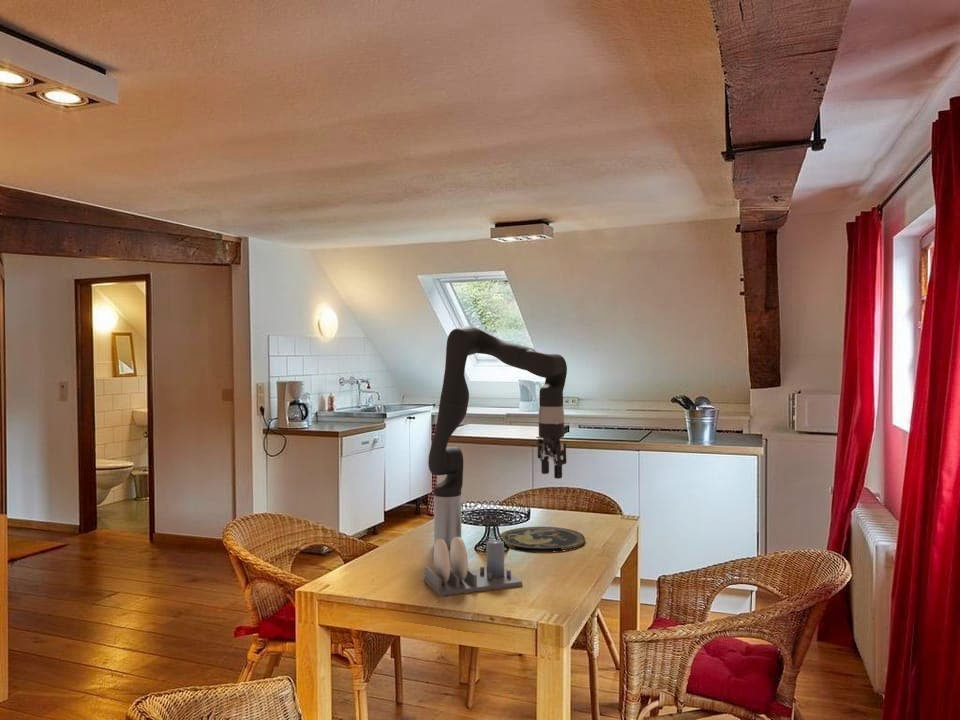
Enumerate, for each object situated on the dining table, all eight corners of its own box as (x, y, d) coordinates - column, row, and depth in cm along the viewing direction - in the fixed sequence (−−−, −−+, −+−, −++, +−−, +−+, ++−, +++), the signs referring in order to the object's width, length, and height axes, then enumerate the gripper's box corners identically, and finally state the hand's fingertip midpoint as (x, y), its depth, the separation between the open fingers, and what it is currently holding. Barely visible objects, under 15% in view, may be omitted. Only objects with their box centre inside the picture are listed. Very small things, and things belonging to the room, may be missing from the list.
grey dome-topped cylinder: (484, 574, 206) (483, 541, 206) (500, 572, 208) (500, 539, 207) (490, 579, 201) (490, 545, 201) (507, 577, 203) (506, 543, 203)
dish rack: (423, 580, 204) (423, 534, 204) (501, 570, 213) (501, 526, 213) (439, 596, 190) (439, 547, 190) (522, 585, 199) (522, 538, 199)
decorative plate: (560, 522, 266) (601, 542, 238) (560, 528, 266) (601, 547, 238) (485, 531, 256) (519, 552, 228) (485, 536, 256) (519, 558, 228)
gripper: (529, 419, 218) (530, 473, 218) (550, 424, 204) (551, 480, 205) (551, 418, 220) (552, 471, 221) (574, 422, 207) (574, 479, 207)
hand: (551, 475), depth 213 cm, fingers open, 8 cm apart
